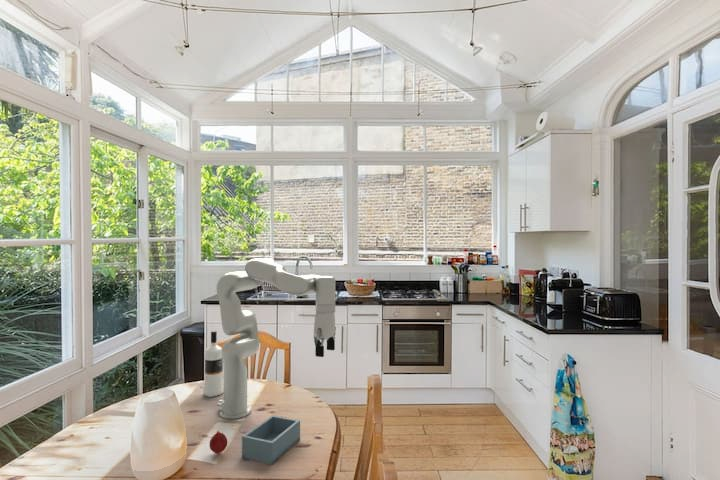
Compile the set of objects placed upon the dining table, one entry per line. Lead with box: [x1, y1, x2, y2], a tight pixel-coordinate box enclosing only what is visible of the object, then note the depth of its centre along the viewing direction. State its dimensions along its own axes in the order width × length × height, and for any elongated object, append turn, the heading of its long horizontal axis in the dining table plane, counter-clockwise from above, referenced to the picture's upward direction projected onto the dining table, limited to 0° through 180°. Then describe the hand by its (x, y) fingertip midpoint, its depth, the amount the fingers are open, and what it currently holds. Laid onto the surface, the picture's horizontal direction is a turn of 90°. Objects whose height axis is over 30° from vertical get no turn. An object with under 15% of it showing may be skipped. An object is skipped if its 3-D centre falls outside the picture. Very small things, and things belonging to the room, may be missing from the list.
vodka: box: [202, 330, 224, 398], centre depth 191 cm, size 9×9×30 cm
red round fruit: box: [208, 429, 229, 455], centre depth 137 cm, size 6×6×8 cm
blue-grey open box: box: [241, 414, 301, 465], centre depth 140 cm, size 12×18×7 cm, turn 159°
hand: (325, 353), depth 152 cm, fingers open, 9 cm apart
